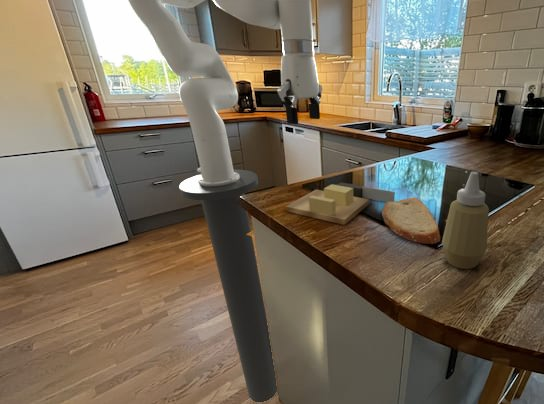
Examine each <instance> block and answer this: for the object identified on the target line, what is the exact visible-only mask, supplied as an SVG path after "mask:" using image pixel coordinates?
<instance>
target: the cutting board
mask: <svg viewBox="0 0 544 404" xmlns="http://www.w3.org/2000/svg"><path fill="white" fill-rule="evenodd" d="M310 196H317V197H322V198H324V190H321V189H314V190H313V191H311V192H309V193H307V194H305V195H303V196H302V197H300V198H298V199H297V200H295V201H293V202H291V203H290V204H288V205H286V206H285V209H286V212H287V213H291V214H296V215H300V216H304V217H309V218H314V219H318V220H322V221H326V222H330V223H334V224H335V223H336V224H338V225H341V226H346V225H347V224H348V223H349V222H350V221H351V220H353V219H354V218H355V217H356V216H357V215H359V214H360V213H361V212H362V211H363V210H364V209H365V208H367V207H368V206H369V205H370V199H367V198H359V197H354V196H353V202H351V203H350V204H348V205H347V206H344V205H339V204H335V209H336V214H335V215H333V216H331V215H326V214H322V213H317V212H313V211H310V208H309V197H310Z"/></svg>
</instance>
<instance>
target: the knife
mask: <svg viewBox="0 0 544 404" xmlns="http://www.w3.org/2000/svg"><path fill="white" fill-rule="evenodd" d="M336 185H339V186H344V187H350V188H353V196H354V197H359V198H365V199H369V200H371V201H372V200H373V201H377V202H384V203H386V202H387V201H395V195H396V194H395V191H392V190H386V189H381V188H374V187H368V186H364V185H360V184H354V183H347V182H339V183H338V184H336Z"/></svg>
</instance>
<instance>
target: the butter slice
mask: <svg viewBox="0 0 544 404" xmlns="http://www.w3.org/2000/svg"><path fill="white" fill-rule="evenodd" d="M309 208H310V211H313V212H317V213H322V214H326V215H331V216H333V215H335V214H336V209H335V200H333V199H327V198H322V197H317V196H310V197H309Z"/></svg>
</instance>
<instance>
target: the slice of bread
mask: <svg viewBox="0 0 544 404" xmlns="http://www.w3.org/2000/svg"><path fill="white" fill-rule="evenodd" d="M381 216H382V219H383V222H384V224H385V225H386V226H387V227H389V230H390V231H392V232H393V233H394V234H395V235H398V236H399V237H401V238H403V239H405V240H408V241H410V242H413V243H418V244H423V245H434V244H437V243H439V242H440V241H441V235H440V229H439V226H438V223H437V221H436V218H435V217H434V216H433V214H432V212H431V211H430V209H429V208H428V207H427V205H426V204H425V203H424V202H423V201H422V200H421V199H419V198H418V197H408V198H403V199H399V200H396V201H395V200H394V201H387V202H384V205H383V207H382V210H381Z"/></svg>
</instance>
